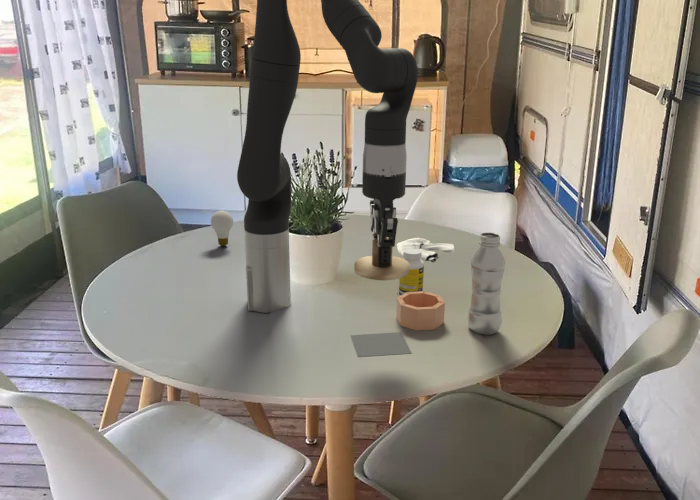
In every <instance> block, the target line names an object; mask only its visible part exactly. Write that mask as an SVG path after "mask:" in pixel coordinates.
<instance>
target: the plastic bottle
mask: <svg viewBox="0 0 700 500" xmlns="http://www.w3.org/2000/svg"><path fill="white" fill-rule="evenodd" d="M478 244H479V247H478V248H477V249H476V250H475V251H474V252H473V254H472V256H471V257H470V258H471V259H470V269H471V286H472V288H471V297H470V298H471V300H470V306H469V308H468V309H469V310H468V313H467V317H466V318H467V319H466V320H467V325H468V327H469V329H470V330H471V331H472V332H473V333H475V334H479V335H486V336H487V335H489V336H490V335H493V334H496V333H498V332H499V331H500V330H501V326H502V322H503V319H502V318H503V317H502V311H501V310H502V309H501V289H502V282H503V277H504V274H505V267H506V259H505V257H504V254H503V252H502V251H501V250H500V248H499V247H500V246H501V235H500V234H499V233H495V232H482V233H481V234H480V236H479V241H478Z"/></svg>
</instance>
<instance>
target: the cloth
mask: <svg viewBox="0 0 700 500" xmlns="http://www.w3.org/2000/svg"><path fill="white" fill-rule="evenodd" d="M396 248H397V252H398V254H400V255H401V256H403V253H404V250H406V249H418V250H420V251H421V258H420V259H421V260H422V261H425V262H426V261H427V260H428V261H430V262H432V263H435V260H436V259H438V256H439V253H437V252H441V253H442V252H445V253H455V252H456V251H455V246H454V244H453V243H446V242H445V243H444V242H441V243H440V242H438V243H436V242H435V243H432V242H431V241H430V240H428V239H425V238H421V237H414V238H412V237H411V238H410V239H405V240H404V241H399V242H398V243H397V244H396ZM436 251H437V252H436Z"/></svg>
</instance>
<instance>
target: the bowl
mask: <svg viewBox="0 0 700 500" xmlns="http://www.w3.org/2000/svg"><path fill="white" fill-rule="evenodd" d="M445 305H446V302H445V300H444V299H443V297H442V296H441V295H440V294H436V293H433V292H428V291H420V292H406V293H404V294H401V295H400V296H397V297H396V313H395V314H396V320H397V322H398V324H399V326H400V327H404V328H407V329H410V330H413V331H428V330H429V331H430V330H435V329H438V328H439V327H440V326H441V325H443V324H444V323H445V310H446V309H445V308H446V306H445Z"/></svg>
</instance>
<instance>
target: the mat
mask: <svg viewBox="0 0 700 500" xmlns="http://www.w3.org/2000/svg"><path fill="white" fill-rule="evenodd" d="M350 338H351V341H352V343H353V347H354V350H355V352H356V356H357V358H363V357H364V358H365V357H378V356H381V357H382V356H395V355H410V354H412V351H411V349H410V347H409V344H408V343H407V341H406V339H405V337H404V335H403V333H402V332H401V331H399V332H398V331H397V332H383V333H367V334H366V333H365V334H351V335H350Z"/></svg>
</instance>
